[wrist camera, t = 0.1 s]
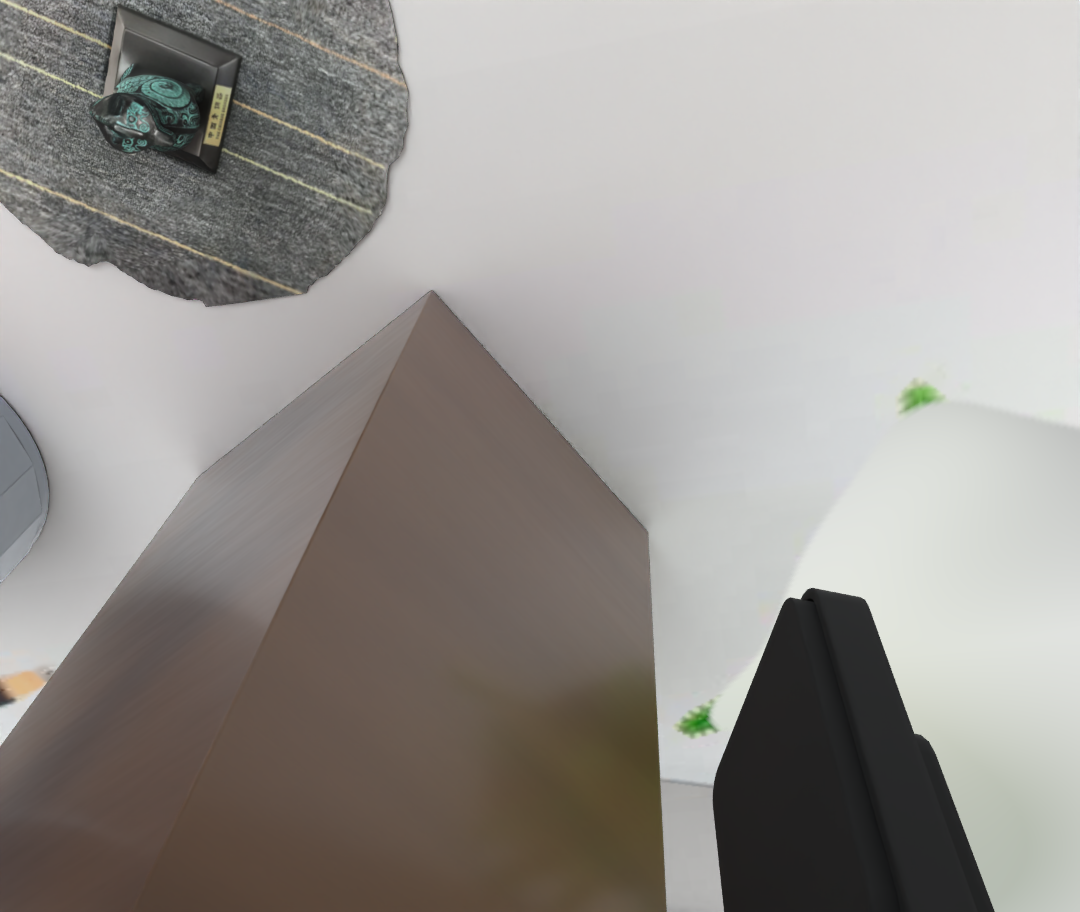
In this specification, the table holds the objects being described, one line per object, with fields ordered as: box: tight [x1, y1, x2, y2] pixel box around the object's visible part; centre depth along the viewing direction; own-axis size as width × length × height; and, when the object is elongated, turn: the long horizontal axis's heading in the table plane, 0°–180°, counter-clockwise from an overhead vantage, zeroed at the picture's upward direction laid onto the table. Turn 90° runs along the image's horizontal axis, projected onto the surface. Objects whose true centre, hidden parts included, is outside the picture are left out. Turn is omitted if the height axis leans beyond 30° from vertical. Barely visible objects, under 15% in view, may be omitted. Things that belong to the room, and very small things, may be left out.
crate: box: [0, 290, 667, 912], centre depth 20 cm, size 10×10×24 cm
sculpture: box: [0, 0, 408, 307], centre depth 24 cm, size 12×9×8 cm
